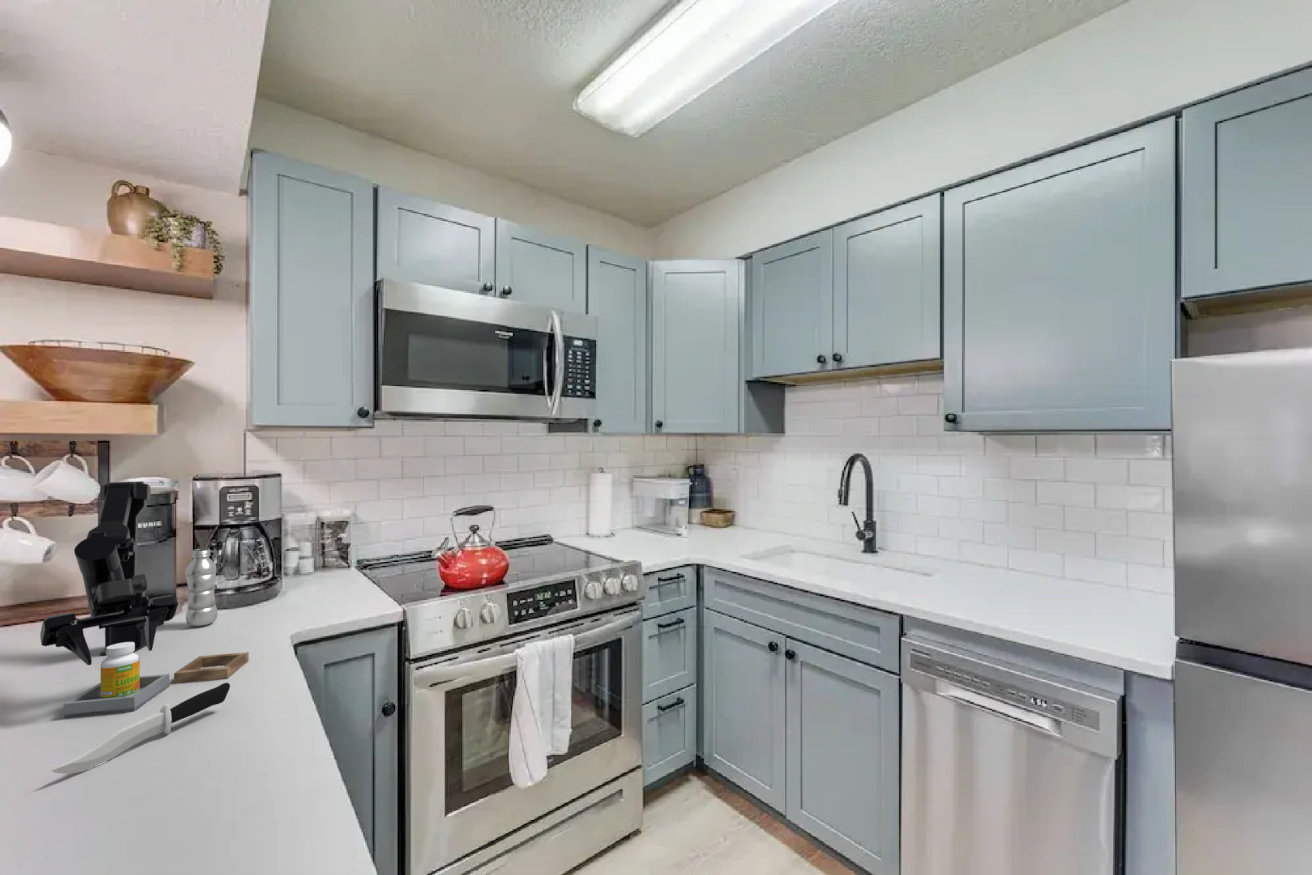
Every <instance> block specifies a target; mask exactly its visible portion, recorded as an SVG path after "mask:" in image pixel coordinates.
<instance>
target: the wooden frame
mask: <svg viewBox="0 0 1312 875" xmlns="http://www.w3.org/2000/svg"><path fill="white" fill-rule="evenodd" d="M249 655H250V653H249V652H248V651H247V652H246V651H245V652H236V653H234V652H231V653H222V654H211V655H199V656H198V657H195V659H193V660H192V661H191V662H189V663H186V665H184V666H182V667H181V668H180V669H178V670H176V671H175V672H174V673H173V684H180V683H181V684H183V683H193V682H204V681H215V680H216V681H217V680H223V679H227V680H228V679H229V678H230V677H231V676H232V675H234V673H236V672H238V671H239V669H241V668H242V667H243V666H244V664H245V665H246V664H247V663H248V662H249V658H250V657H249ZM218 665H220V666H221V667H218ZM216 666H217V667H216ZM207 667H210V668H207Z"/></svg>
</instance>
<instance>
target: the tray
mask: <svg viewBox="0 0 1312 875" xmlns="http://www.w3.org/2000/svg"><path fill="white" fill-rule="evenodd" d="M170 677H171V676H170V673H164V674H154V675H152V674H151V675H143V676H142V675H140V691H139V692H137V693H136V694H134V695H133V696H126V697H115V698H105V699H101V697H100V696H101V682H99V683H97V684H95V685H94V686H92V687H90V688H89V689H86V691H84V692H82V693H80V694H79V695H77V696H75V697H73V698H71V699H70V700H68V701H66V702H65V703H63V719H67V718H80V716H81V717H89V716H88V715H91V716H99V714H101V715H107V714H108V715H111V714H119V713H118V712H121V713H126V712H125V711H131V712H134V711H133V710H135V711H137V710H138V709H140V708H141V707H143V706H144V705H145V704H147V703H148V702H150V701H152V698H153V697H154V698H155V697H157V696H158V695H159V693H160V694H161V693H162V692H164V691H165V690H167V689H168V688H169V687H170V686H171V685H170V684H171V683H170V681H171V680H170ZM156 695H157V696H156ZM154 698H153V699H154ZM147 701H148V702H147ZM146 702H147V703H146ZM140 706H141V707H140ZM139 707H140V708H139ZM95 714H97V715H95Z"/></svg>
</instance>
